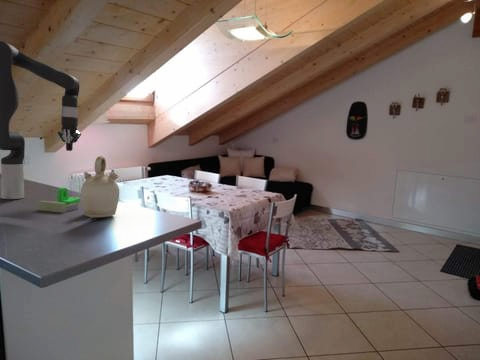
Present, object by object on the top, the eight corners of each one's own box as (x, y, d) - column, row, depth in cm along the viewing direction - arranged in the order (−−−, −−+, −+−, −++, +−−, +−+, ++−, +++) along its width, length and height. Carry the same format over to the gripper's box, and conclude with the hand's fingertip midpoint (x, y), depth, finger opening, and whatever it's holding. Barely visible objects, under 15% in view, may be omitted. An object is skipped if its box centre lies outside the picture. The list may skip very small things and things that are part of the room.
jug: (126, 212, 154) (126, 156, 151) (104, 219, 139) (103, 157, 136) (97, 209, 158) (96, 154, 155) (72, 216, 143) (71, 155, 140)
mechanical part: (70, 205, 166) (69, 189, 165) (57, 205, 166) (57, 188, 165) (82, 201, 178) (82, 185, 177) (71, 200, 178) (70, 185, 177)
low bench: (39, 210, 153) (38, 201, 152) (55, 206, 161) (55, 198, 161) (63, 212, 149) (63, 203, 149) (78, 209, 158) (78, 200, 157)
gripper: (53, 115, 173) (52, 149, 175) (75, 116, 169) (74, 151, 171) (64, 116, 180) (64, 149, 182) (85, 117, 177) (85, 151, 179)
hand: (69, 150), depth 177 cm, fingers closed
